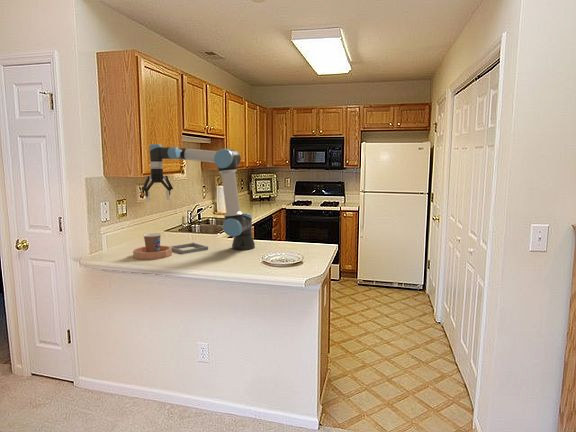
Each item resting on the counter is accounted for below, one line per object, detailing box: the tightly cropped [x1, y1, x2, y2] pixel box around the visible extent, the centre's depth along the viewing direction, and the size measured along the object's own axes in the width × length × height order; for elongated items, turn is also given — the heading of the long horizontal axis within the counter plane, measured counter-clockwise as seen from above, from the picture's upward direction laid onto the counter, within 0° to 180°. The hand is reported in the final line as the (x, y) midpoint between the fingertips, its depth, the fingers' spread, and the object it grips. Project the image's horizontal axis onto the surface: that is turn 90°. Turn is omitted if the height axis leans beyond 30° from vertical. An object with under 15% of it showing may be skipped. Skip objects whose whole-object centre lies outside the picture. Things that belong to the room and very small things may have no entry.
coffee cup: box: [143, 232, 162, 253], centre depth 242 cm, size 10×10×12 cm
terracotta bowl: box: [132, 244, 173, 261], centre depth 242 cm, size 22×22×4 cm
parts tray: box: [170, 242, 209, 255], centre depth 259 cm, size 18×18×2 cm
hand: (158, 201), depth 260 cm, fingers open, 13 cm apart
